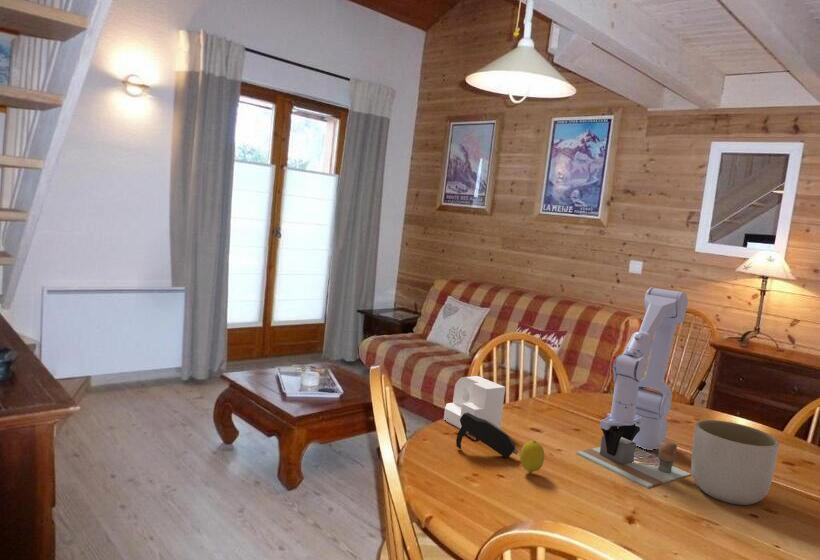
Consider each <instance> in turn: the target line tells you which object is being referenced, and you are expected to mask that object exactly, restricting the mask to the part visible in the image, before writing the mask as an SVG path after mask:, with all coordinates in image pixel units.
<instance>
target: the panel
mask: <svg viewBox="0 0 820 560" xmlns="http://www.w3.org/2000/svg"><path fill="white" fill-rule="evenodd" d="M600 448H601V446H599V447H593V448H589V449H584V450H579V451H576V453H575V454H576V455H577V456H579V457H582V458H584V459H586V460H588V461H590V462H592V463H595V464H596V465H598V466H600V467H603V468H604V469H606V470H608V471H611V472H613V473H615V474H617V475H619V476H621V477H622V478H625V479H628V480H630V481H631V482H634V483H636V484H638V485H640V486H641V487H643V488H646V489H649V488H652V487H655V486H656V487H657V486H660V485H663V484H666V483H670V482H672V481H673V482H674V481H675V480H679V479H682V478H685V477H688V476H691V475H692V473H690V472H687V471H686V470H682V469H681V468H678V467H676V466H673V465H672V470H671V473H664V472H661V471H659V470H658V467H659V465H658V466H655V465H644V464H643V465H642V464H636V463H627V464H623V465H622V464H620V463H618V462H616V461H614V460H612V459H609V458H607V457H605V456H603V455H601V454H600Z"/></svg>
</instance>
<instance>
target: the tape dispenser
mask: <svg viewBox="0 0 820 560" xmlns="http://www.w3.org/2000/svg"><path fill="white" fill-rule="evenodd" d="M453 390H454V391H453V396H452V397H453V399H452V402H448V403H446V404H445V408H444V413H443V420H444V421H445V420H446V421H445V422H447V423H449V424H451V425H453V426H455V427H456V428H458V429H459V430H460V429H461V427H462V426H461V423H460V418H461V417H462V415H463V414H464V413H470V414H472V415H474V416H476V417H477V418H481V419H484V420H486V421H488V422H491V423H492V424H494V425H495V426H497V427H498V428H500V429H501V426H502V418H503V409H504V400H505V393H506V386H504V385H502V384H498V383H496V382H494V381H493V380H492V381H491V380H489V379H487V378H484V377H481V376H479V375H474V376H473V375H472V376H463V377H462V376H461V377H460V378H459V379H458V380H457V381H456V382H455V385H454V389H453ZM447 418H448V419H447ZM467 433H468V432H466V434H467ZM468 434H469V433H468Z"/></svg>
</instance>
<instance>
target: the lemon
mask: <svg viewBox="0 0 820 560" xmlns="http://www.w3.org/2000/svg"><path fill="white" fill-rule="evenodd" d="M519 456H520V457H519V461H520V463H521V466H522V467H523V469H524V470H526V471H527V472H528V474H532V473H534V472H537V471H539V470H541V468H542V467H543V465H544V462H545V451H544V447H543V446H542V445H541V444H540V443H539V442H538V441H537V440H536V439H533V440H531V441H528V442H525V443H524V444H523V446H522V448H521V450H520V455H519Z"/></svg>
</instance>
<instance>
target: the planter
mask: <svg viewBox="0 0 820 560" xmlns="http://www.w3.org/2000/svg"><path fill="white" fill-rule="evenodd" d="M693 435H694V436H693V444H692V452H691V466H690V467H691V469H690V470H691V475H692V478H693V480H694V482H695V484H696V485H697V486H698V488H700V490H701V491H702V492H703V493H705V494H707V495H708V496H709V497H711V498H713V499H715V500H718V501H720V502H723V503H727V504H731V505H739V506H749V505H754V504H756V503H758V502H760V501H762V500H763V499H765V498H766V496H767V495H768V493H769V491H770V488H771V485H772V482H773V478H774V474H775V468H776V464H777V459H778V453H779V448H780V441H779V440H778V439H777V438H776V437H775V436H773V435H772V434H769V433H767V432H766V431H762V430H760V429H757V428H754V427H751V426H748V425H744V424H739V423H736V422H732V421H725V420H718V419H717V420H716V419H702V420H698V421H697V422H696V423H695V427H694V434H693Z"/></svg>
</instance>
